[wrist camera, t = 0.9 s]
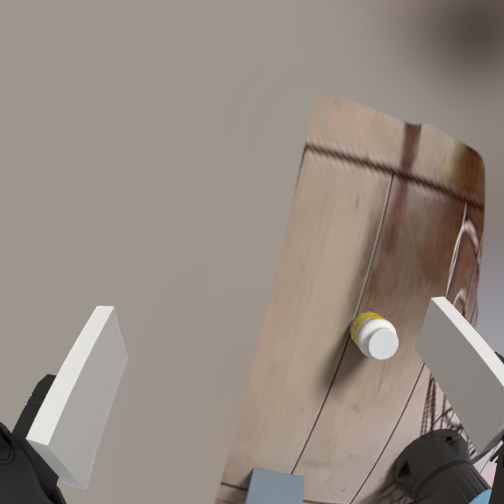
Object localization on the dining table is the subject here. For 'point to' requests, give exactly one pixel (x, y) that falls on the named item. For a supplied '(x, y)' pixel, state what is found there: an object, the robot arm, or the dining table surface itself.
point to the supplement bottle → (374, 335)
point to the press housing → (274, 488)
